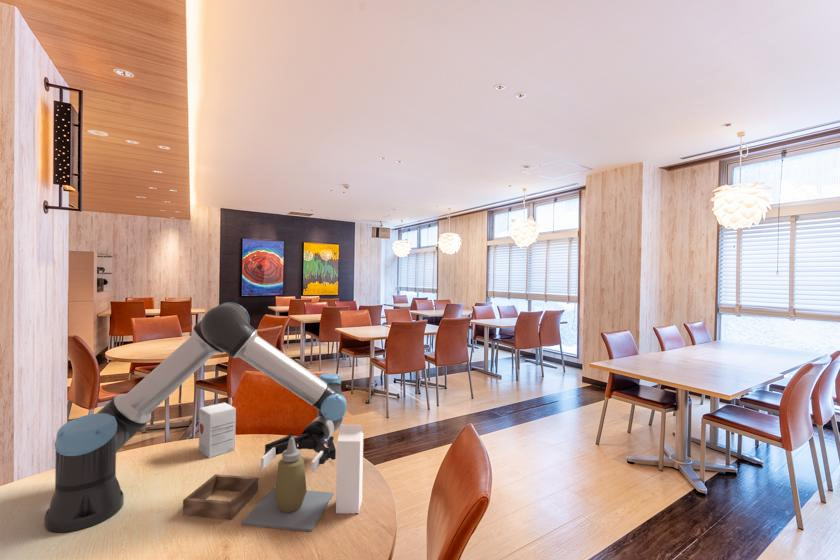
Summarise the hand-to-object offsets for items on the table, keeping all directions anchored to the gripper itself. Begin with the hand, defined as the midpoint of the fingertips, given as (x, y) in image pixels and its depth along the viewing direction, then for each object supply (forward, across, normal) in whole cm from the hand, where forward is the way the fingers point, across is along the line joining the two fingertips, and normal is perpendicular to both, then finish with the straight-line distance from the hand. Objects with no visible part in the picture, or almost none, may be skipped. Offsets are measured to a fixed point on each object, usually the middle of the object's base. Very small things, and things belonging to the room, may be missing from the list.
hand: (287, 465), depth 99 cm
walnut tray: (-3, +19, -13) cm, 23 cm away
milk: (-6, -15, -13) cm, 21 cm away
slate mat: (-3, 0, -13) cm, 13 cm away
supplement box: (-32, +40, -13) cm, 53 cm away
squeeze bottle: (-3, 0, -12) cm, 13 cm away
